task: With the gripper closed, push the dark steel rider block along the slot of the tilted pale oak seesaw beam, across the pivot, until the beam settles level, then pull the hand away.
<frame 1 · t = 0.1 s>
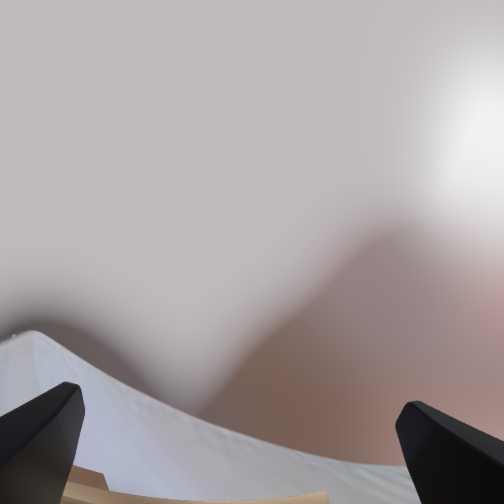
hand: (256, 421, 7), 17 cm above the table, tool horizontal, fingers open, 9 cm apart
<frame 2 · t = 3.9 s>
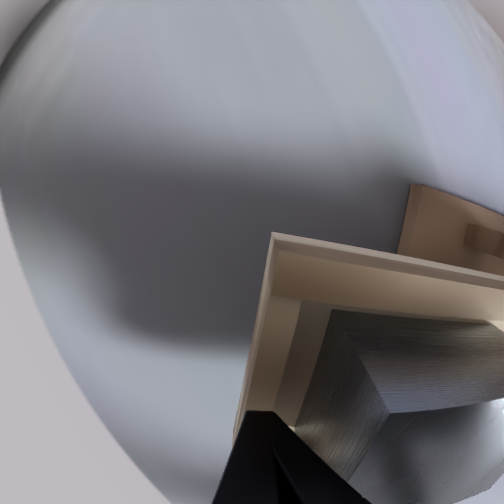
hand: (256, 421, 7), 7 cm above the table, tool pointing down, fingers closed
stand: (442, 318, 16), on the table
rider: (403, 379, 9), point 6 cm above the table, tilted 7°, touching beam, gripper
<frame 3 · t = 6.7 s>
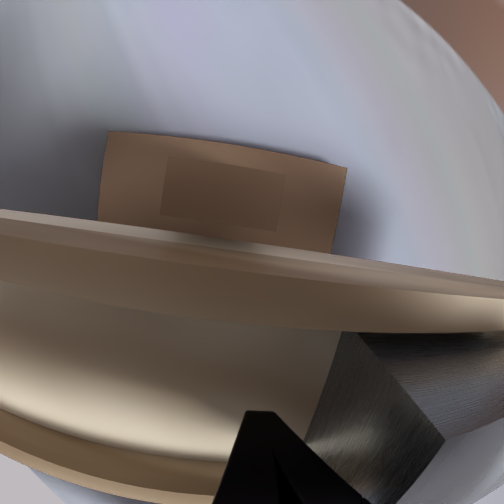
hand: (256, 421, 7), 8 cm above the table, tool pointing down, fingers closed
stand: (204, 302, 14), on the table
rider: (413, 385, 9), point 7 cm above the table, touching beam, gripper
beam: (196, 398, 7), point 7 cm above the table, hinge at 0.6°, touching rider
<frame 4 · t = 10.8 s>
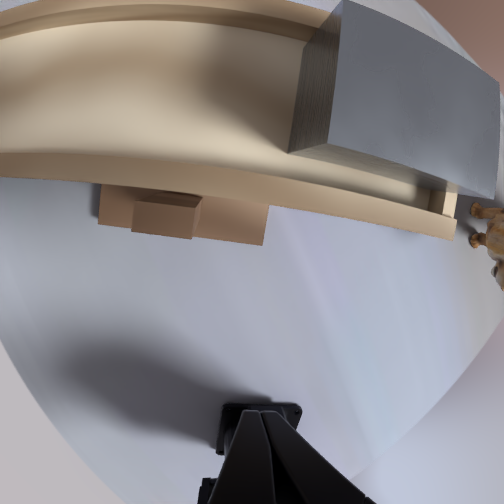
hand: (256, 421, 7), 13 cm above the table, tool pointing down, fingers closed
stand: (196, 117, 17), on the table
lion figurine: (489, 232, 22), on the table
rider: (372, 119, 12), point 7 cm above the table, touching beam
beam: (185, 85, 10), point 7 cm above the table, hinge at 0.6°, touching rider
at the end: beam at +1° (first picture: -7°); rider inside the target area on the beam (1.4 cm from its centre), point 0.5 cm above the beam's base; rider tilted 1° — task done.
